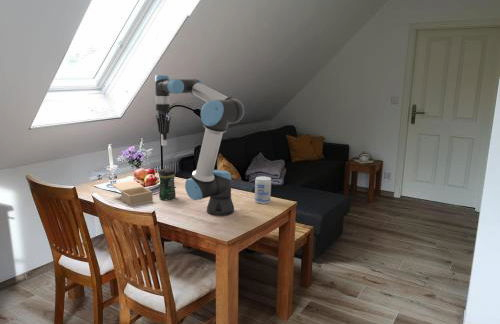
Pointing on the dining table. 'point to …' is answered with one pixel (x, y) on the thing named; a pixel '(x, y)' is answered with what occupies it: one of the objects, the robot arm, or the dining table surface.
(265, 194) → the supplement tub
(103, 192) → the dining table surface
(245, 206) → the dining table surface
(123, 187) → the lid
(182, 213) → the dining table surface
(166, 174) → the coffee jar
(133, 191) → the mailer box
